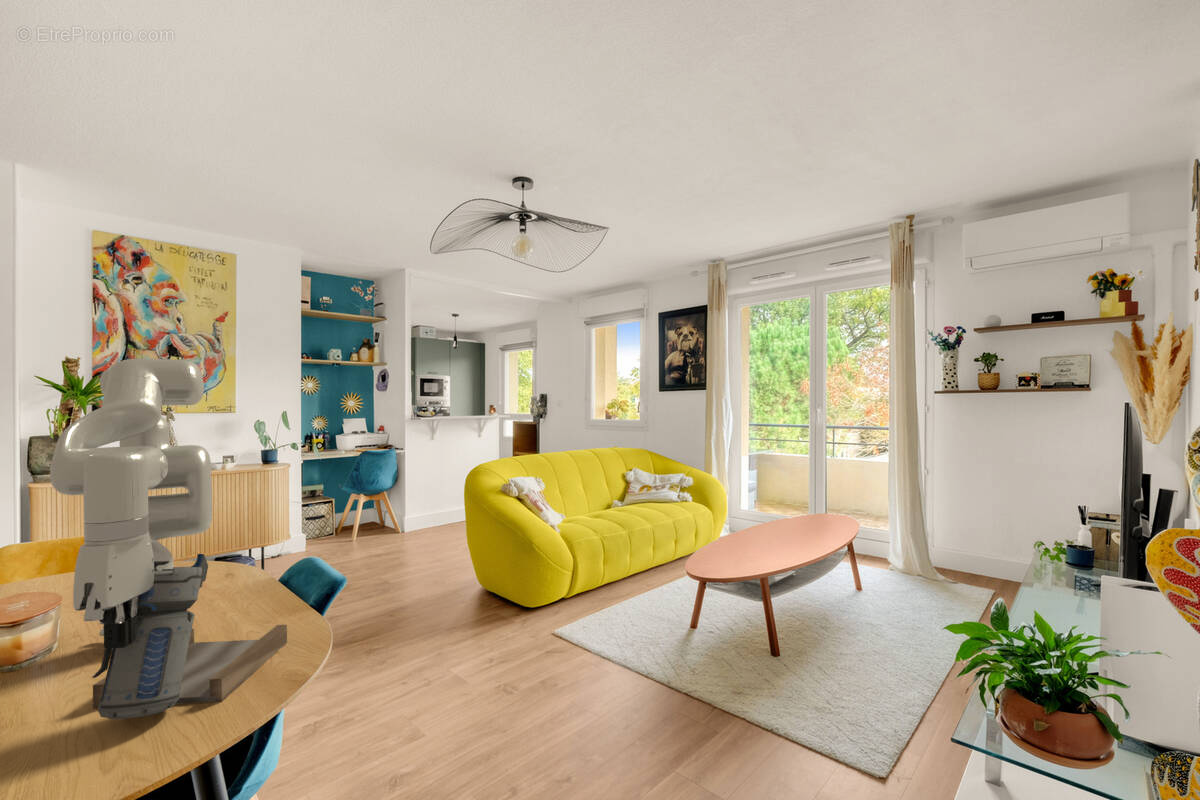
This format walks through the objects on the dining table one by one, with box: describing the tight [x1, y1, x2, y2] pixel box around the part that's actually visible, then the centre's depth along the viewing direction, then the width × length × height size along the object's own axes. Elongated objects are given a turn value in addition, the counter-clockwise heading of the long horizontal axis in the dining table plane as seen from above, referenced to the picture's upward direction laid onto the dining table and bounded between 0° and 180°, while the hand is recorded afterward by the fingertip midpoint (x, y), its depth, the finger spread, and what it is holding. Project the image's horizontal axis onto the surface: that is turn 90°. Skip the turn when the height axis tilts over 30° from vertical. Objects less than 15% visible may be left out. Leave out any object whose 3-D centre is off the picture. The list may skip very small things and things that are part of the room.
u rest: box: [92, 624, 288, 709], centre depth 102 cm, size 21×22×4 cm
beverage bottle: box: [91, 553, 209, 720], centre depth 89 cm, size 10×13×25 cm
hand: (119, 645), depth 83 cm, fingers closed
